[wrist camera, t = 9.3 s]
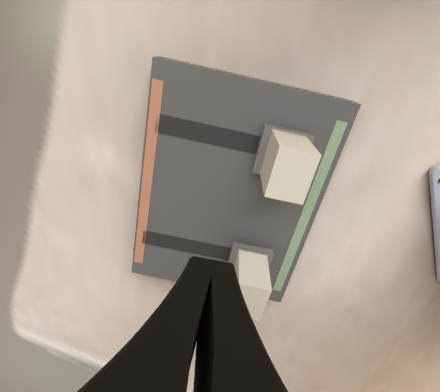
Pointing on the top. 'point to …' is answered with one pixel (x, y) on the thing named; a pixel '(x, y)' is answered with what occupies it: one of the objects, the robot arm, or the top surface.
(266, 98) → the board
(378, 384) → the top surface
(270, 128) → the cream small block
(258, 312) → the handle
